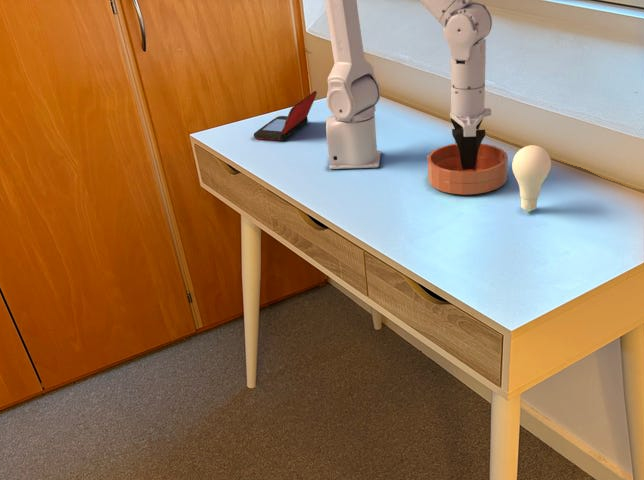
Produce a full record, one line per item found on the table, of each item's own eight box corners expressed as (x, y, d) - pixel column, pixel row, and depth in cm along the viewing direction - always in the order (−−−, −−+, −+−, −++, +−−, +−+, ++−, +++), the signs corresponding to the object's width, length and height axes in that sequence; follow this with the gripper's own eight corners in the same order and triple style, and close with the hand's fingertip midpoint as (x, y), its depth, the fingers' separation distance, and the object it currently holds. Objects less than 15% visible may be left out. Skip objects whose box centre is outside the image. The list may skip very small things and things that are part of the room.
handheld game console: (279, 120, 164) (274, 86, 159) (322, 123, 160) (318, 89, 156) (251, 139, 154) (245, 104, 150) (297, 143, 151) (292, 107, 147)
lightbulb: (550, 205, 121) (555, 141, 115) (543, 220, 117) (548, 154, 110) (514, 201, 123) (517, 138, 116) (506, 217, 118) (509, 152, 112)
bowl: (428, 198, 126) (427, 173, 123) (427, 167, 137) (427, 144, 134) (510, 195, 125) (511, 170, 122) (502, 164, 136) (503, 141, 134)
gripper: (495, 96, 115) (493, 177, 123) (488, 71, 126) (487, 147, 135) (451, 98, 115) (451, 179, 123) (448, 73, 127) (449, 148, 135)
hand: (467, 162), depth 129 cm, fingers closed on milkshake, 5 cm apart
